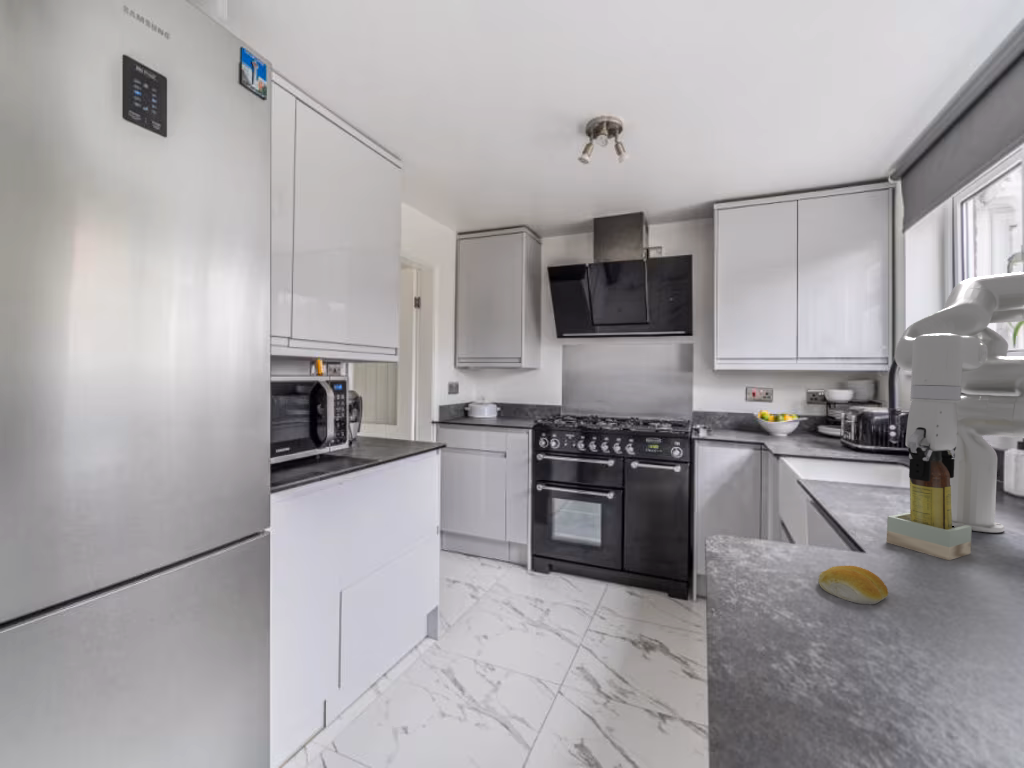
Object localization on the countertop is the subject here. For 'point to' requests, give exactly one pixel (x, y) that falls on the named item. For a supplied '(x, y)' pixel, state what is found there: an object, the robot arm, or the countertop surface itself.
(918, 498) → the sauce bottle
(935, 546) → the tray
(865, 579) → the bread roll
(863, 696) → the countertop surface
